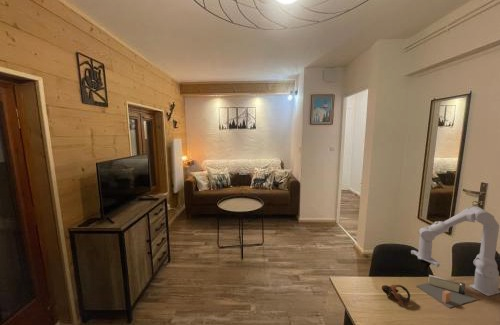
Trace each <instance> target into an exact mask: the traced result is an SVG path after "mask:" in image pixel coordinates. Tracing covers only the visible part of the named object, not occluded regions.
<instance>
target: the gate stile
mask: <svg viewBox="0 0 500 325" xmlns="http://www.w3.org/2000/svg"><path fill="white" fill-rule="evenodd" d="M450 296H451V292H449V291H448V290H446V291H443V293H442V301H443V302H445V303H448V302H450Z"/></svg>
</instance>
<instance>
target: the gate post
mask: <svg viewBox="0 0 500 325" xmlns="http://www.w3.org/2000/svg"><path fill="white" fill-rule="evenodd" d="M459 293H460V294H462V295H464V294H465V293H466V283H464V282H461V281H460V282H459Z"/></svg>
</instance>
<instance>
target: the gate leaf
mask: <svg viewBox="0 0 500 325" xmlns="http://www.w3.org/2000/svg"><path fill="white" fill-rule="evenodd" d="M428 283H429V284H431V285H435V286H438V287H442V288H445V289H449V290H452V291H456V292H459V287H460V282H458V281H455V280H452V279H451V280H450V279H447V278H443V277H439V276H436V275H431V274H428Z"/></svg>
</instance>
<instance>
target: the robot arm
mask: <svg viewBox="0 0 500 325" xmlns="http://www.w3.org/2000/svg"><path fill="white" fill-rule="evenodd" d="M465 222H471V223H476V222H477V223H479V224H481V225H482V234H481V241H480V247H479V248H480V249H479V253H478V254H476V257H475V259H473V262H472V263H473V265H474V266H475V270H474V278H473V279H474V282H473V284H469V287H470V288H472V289H474V290H476V291H478V292H479V293H480V294H483V295H485V296H487V297H489V296H493V295H496V294H500V290H499V285H500V278H499V275H500V272H499V270H498V263H497V260H496V259H495V258H496V251H497V244H498V239H499V238H498V237H499V232H500V225H499V223H498V221H497V219H496V218H495V216H494V214H491V213H490V212H489V211H486V210H484V209H483V208H481V207H480V206H477V205H471V206H469V207H467V208H464V209H463V210H461V212H459V213H457V214H455V215H454V216H452V217H450V218H448V219H445V220H444V221H442V220H441V221H440V220H438V221H434V222H433V224H430V225H428V226H427V225H426V226H425V227H424V226H423V227H421V228H420V229H419V230H418V231H417V232H418V235H419V240H418V251H417V250H415V249H412V250H410V254H411V255H414V256H416V257H417V258H416V261H417V263H418V264H419V268H420V272H421V273H423V274H424V273H426V272H427V270H428V268H429V267H430V266H431V265H432V266H434V268H435V267H436V268H439V267H440V264H441V263H440V262H438V261H436V260H435V259H434V258H433V257H432V252H433V241H434V240H435V239H436V237H438V236H439V235H442V234H444V233H447V232H448V231H449V229H450V228H451V227H454V226H456V225H459V224H461V223H465Z"/></svg>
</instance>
